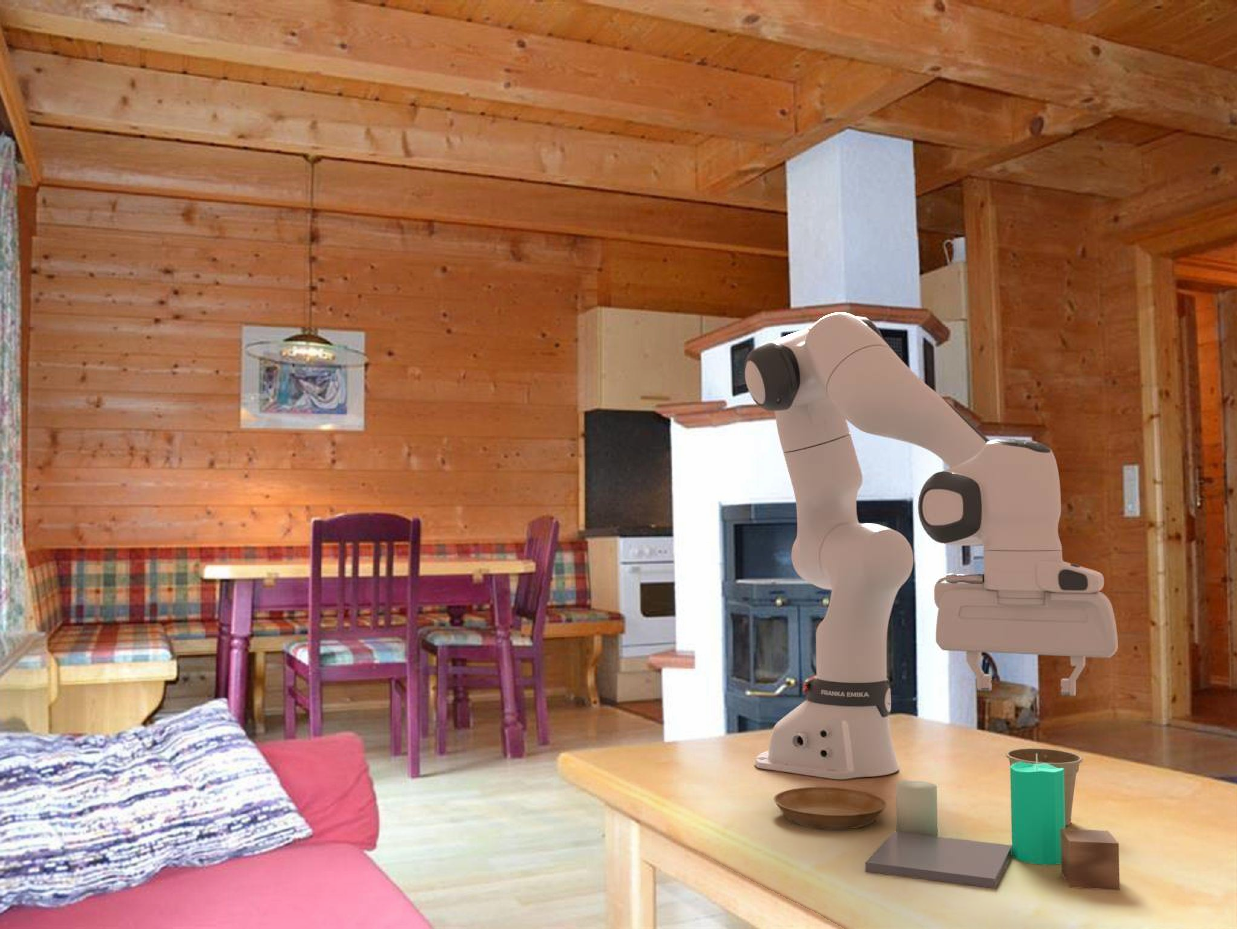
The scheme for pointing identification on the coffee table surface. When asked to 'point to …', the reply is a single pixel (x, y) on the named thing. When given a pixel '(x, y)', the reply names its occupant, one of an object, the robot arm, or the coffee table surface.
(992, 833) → the coffee table surface
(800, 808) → the plant saucer
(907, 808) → the white rounded capsule
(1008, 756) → the flower pot
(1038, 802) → the candle
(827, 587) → the robot arm
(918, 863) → the coaster
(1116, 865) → the walnut cube
